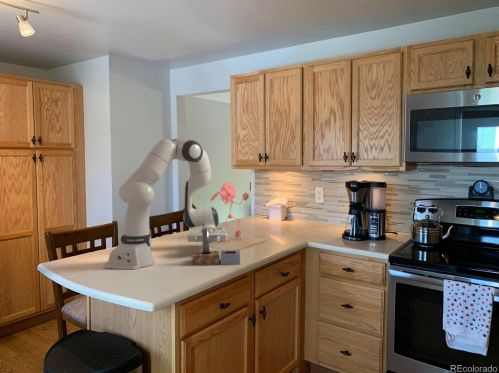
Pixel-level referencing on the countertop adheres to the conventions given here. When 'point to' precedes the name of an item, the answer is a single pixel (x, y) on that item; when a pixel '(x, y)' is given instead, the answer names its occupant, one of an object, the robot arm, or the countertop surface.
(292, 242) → the countertop surface
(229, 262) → the socket block
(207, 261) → the wooden square hole block
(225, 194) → the figurine
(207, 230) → the steel axle
